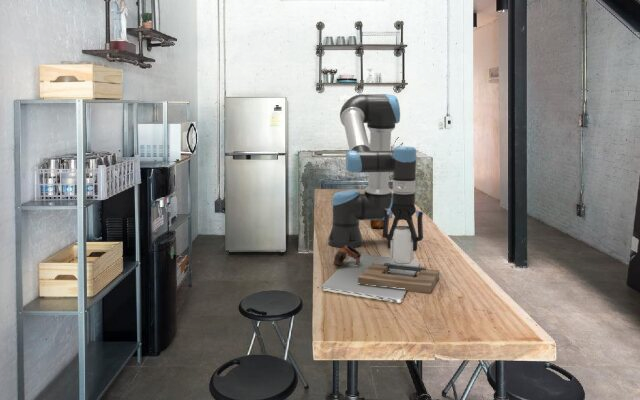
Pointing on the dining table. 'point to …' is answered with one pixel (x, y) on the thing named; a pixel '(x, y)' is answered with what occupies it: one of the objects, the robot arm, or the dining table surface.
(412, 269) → the cross rail
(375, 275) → the wooden frame board
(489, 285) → the dining table surface
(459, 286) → the dining table surface
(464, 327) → the dining table surface
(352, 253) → the pottery mug
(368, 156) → the robot arm
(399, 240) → the can
